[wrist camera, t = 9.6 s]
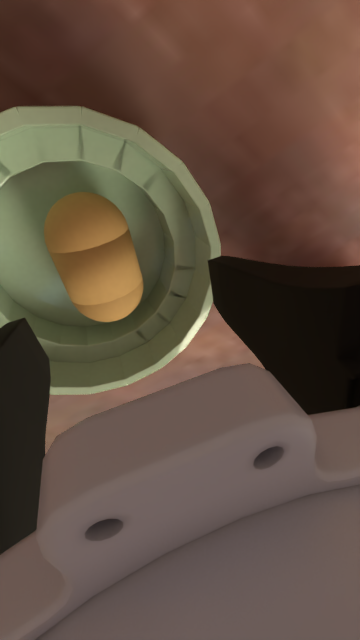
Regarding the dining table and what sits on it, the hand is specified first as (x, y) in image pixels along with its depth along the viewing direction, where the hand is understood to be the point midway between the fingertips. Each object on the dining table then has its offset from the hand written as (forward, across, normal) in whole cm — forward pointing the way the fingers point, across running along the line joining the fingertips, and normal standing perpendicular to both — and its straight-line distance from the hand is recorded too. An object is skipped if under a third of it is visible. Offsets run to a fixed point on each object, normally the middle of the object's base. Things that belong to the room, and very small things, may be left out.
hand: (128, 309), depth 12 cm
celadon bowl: (+9, +2, 0) cm, 9 cm away
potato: (+8, +2, 0) cm, 9 cm away
